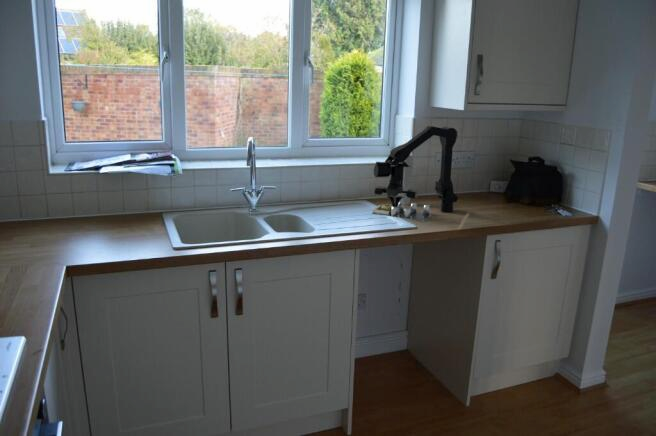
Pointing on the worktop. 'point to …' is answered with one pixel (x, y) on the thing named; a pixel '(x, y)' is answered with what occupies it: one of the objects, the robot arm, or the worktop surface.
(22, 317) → the worktop surface
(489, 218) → the worktop surface
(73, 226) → the worktop surface
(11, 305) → the worktop surface
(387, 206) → the hex nut
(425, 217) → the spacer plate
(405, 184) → the water bottle
